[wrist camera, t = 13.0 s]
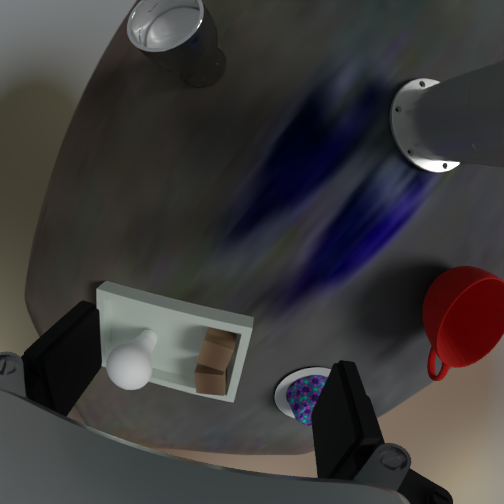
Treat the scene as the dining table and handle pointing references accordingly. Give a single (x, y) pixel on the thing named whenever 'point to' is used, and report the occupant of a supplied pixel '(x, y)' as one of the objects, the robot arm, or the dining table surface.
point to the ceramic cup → (462, 317)
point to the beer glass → (178, 39)
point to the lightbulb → (132, 361)
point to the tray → (170, 334)
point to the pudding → (301, 393)
